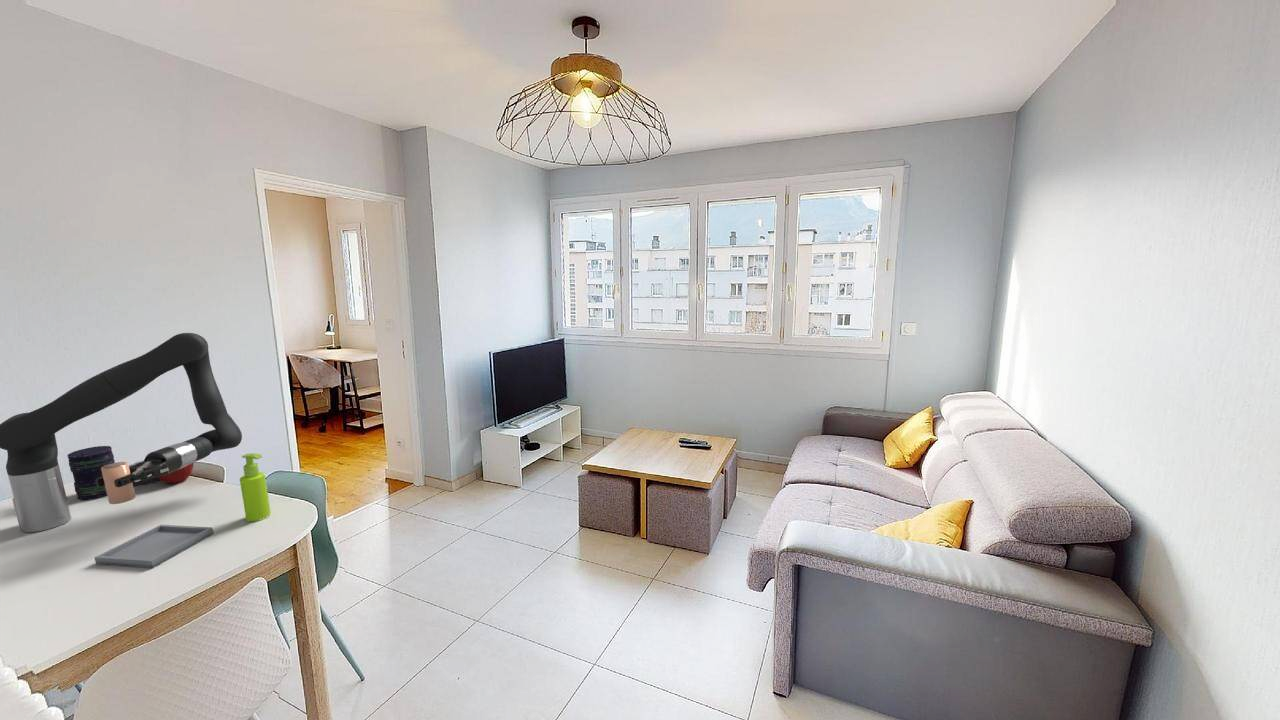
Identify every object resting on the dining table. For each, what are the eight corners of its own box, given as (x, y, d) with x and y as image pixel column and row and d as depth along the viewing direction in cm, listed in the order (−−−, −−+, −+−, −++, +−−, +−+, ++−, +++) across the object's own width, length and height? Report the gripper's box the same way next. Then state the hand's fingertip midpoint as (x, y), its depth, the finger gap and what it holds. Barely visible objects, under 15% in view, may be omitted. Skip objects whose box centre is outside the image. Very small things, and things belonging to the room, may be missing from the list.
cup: (103, 503, 131) (95, 468, 129) (124, 495, 135) (116, 461, 133) (120, 504, 130) (112, 469, 128) (140, 495, 135) (133, 461, 133)
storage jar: (93, 488, 165) (84, 447, 163) (128, 485, 168) (120, 444, 165) (67, 502, 156) (57, 458, 153) (105, 498, 158) (95, 455, 155)
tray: (96, 564, 124) (94, 557, 123) (162, 531, 139) (160, 524, 139) (153, 568, 122) (151, 560, 122) (213, 533, 138) (212, 527, 137)
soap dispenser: (260, 523, 144) (250, 459, 140) (241, 520, 145) (230, 457, 141) (278, 513, 149) (269, 451, 146) (259, 511, 151) (250, 450, 147)
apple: (178, 474, 177) (172, 444, 175) (206, 475, 176) (200, 444, 174) (146, 488, 166) (139, 455, 164) (175, 489, 165) (169, 456, 163)
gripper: (147, 445, 145) (78, 469, 129) (191, 447, 144) (128, 471, 128) (152, 469, 147) (85, 495, 130) (196, 470, 146) (134, 497, 129)
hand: (106, 483), depth 129 cm, fingers closed on cup, 5 cm apart
